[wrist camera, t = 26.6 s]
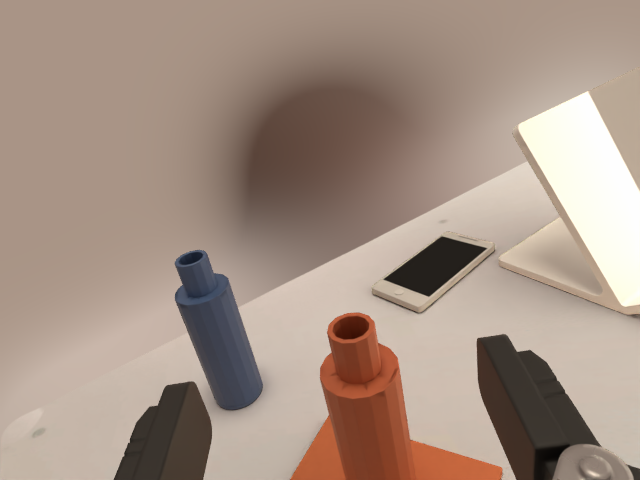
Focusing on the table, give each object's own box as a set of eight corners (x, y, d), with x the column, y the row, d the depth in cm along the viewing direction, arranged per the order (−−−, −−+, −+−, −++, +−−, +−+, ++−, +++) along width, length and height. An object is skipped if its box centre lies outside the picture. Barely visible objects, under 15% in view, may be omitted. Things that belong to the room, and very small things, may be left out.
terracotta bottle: (369, 542, 31) (328, 368, 24) (341, 484, 34) (299, 320, 28) (431, 509, 32) (408, 334, 25) (397, 456, 36) (369, 293, 29)
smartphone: (370, 293, 56) (369, 286, 55) (447, 236, 64) (446, 230, 63) (420, 314, 50) (419, 306, 50) (496, 249, 59) (496, 242, 58)
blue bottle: (243, 415, 43) (192, 276, 36) (206, 402, 45) (150, 269, 38) (271, 379, 46) (229, 246, 39) (235, 369, 48) (189, 242, 42)
